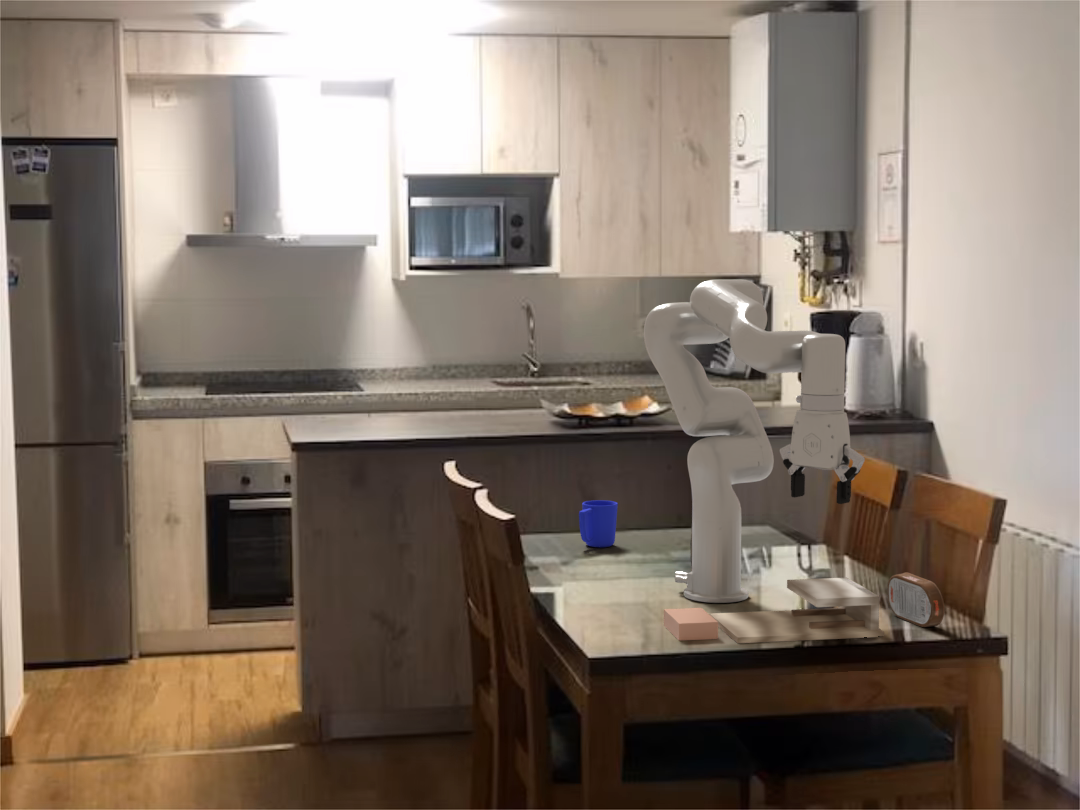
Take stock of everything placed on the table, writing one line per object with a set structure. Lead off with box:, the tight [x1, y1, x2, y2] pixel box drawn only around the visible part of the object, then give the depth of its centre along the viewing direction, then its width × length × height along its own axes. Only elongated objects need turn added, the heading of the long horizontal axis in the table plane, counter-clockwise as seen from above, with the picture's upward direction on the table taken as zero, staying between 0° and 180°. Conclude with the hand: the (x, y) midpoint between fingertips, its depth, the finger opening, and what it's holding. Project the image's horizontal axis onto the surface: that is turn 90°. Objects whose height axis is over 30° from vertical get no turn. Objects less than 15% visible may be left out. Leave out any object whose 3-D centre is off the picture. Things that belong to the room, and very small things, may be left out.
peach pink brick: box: [663, 607, 719, 642], centre depth 268 cm, size 11×7×3 cm, turn 9°
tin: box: [887, 572, 945, 628], centre depth 275 cm, size 15×3×8 cm, turn 20°
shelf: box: [708, 577, 885, 644], centre depth 271 cm, size 26×18×7 cm
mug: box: [578, 499, 618, 548], centre depth 348 cm, size 8×12×10 cm
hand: (820, 499), depth 268 cm, fingers open, 9 cm apart
